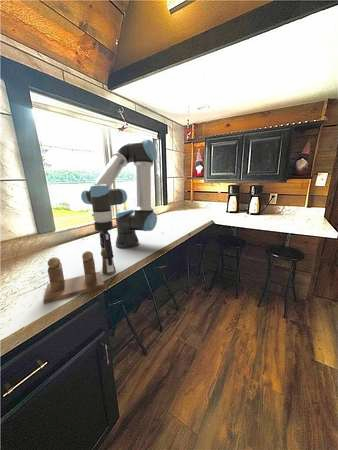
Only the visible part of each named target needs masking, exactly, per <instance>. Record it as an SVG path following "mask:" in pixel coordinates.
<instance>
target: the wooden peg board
mask: <svg viewBox="0 0 338 450" xmlns="http://www.w3.org/2000/svg"><path fill="white" fill-rule="evenodd" d="M81 258H82V265H83V266H82V267H83V273H84V274H83V275H79V276H75V277H71V278H68V279H67V278H66V279H65V276H64V271H63V265H62V262H61V259H60V258H58V257H55V256H54V257H53V256H52V257H51V258H49V259H48V261H47V266H48V267H47V275H48V278H49V279H48V280H49V283H47V284H46V288H45V293H44V297H43V304H49V303H52V302H56V301H59V300H64V299H66V298H71V297H75V296H78V295H82V294H85V293H89V292H92V291H93V292H94V291H97V290H99V289H100V290H101V289H103V288H105V283H104V280H103V276H102V272H101V271H97V270H96V263H95V259H94V254H93V252H91V251H89V250H88V251H84V252H83V253H82V255H81Z"/></svg>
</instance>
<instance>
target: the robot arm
mask: <svg viewBox="0 0 338 450" xmlns="http://www.w3.org/2000/svg"><path fill="white" fill-rule="evenodd" d="M157 157H158V154H157V148H156V146H155V144H154V142H153V141H152V140H150V139H141V140H134V141H133V140H132V141H128V142H125V143H123V144H121V145H120V146H119V147H118V148H117V149H115V151H114V152H113V154H112V155H111V159H110V161H109V162H108V163H107V164H106V167H105V168H104V169H103V171H102V172H101V173H100V175H99V176H98V177H97V179H96V180H95V181H94V183H93V184H92V185H91V186H90V188H86V189H84V190H82V192H81V194H80V197H81V200H82V202H83V203H84V204H86V205H90V206H92V214H91V217H93V221H94V230H95V231H96V232H99V241H100V243H99V245H100V248H101V251H102V250H103V249H105V253H106V257H105V259H106V265H107V273H109V272H113V271H114V266H115V265H114V266H113V262H114V254H113V253H114V251H113V247H112V241H111V234H110V233H109V231H111V230H113V228H114V227H113V221H112V220H113V213H112V206H116V205H118V206H119V205H122V204H125V203H126V202H127V200H128V194H127V192H126V191H125V190H124V189H123V188H111V186H113V184H114V182H115V180H116V179H117V177H118V176H119V174H120V172H121V171H122V170H123V169H124V168H125V167H126V166H127V165H129V163H133V165H134V166H135V167H136V168H135V169H136V170H135V171H136V172H135V173H136V207H135V208H134V209H124V210H121V211H117V212H116V213H115V223H116V231H117V235H116V240H115V246H116V247H117V248H118V249H129V248H134V247H137V246H138V245H139V244H140V243H139V241H140V240H139V237H138V235H137V233H136V231H142V232H152V231H153V230H154V229H155V228H156V226H157V221H158V216H157V213H156V212H155V211H154V208H153V207H152V182H151V181H152V179H151V178H152V177H151V174H152V172H151V170H152V169H151V168H152V167H153V165H154V162H155V161H156V160H157ZM101 251H100V252H101ZM101 260H102V261H103V257H102V256H101Z"/></svg>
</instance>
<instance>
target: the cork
mask: <svg viewBox="0 0 338 450" xmlns="http://www.w3.org/2000/svg"><path fill="white" fill-rule="evenodd" d="M100 255H101V258H102V257H103V260H102V267H101V268H102V270H101V271H102V272H101V274H102V275H108V276H109V275H112V274H114V273H116V266H115V262H114V261H113V266H114V271H113V272H109V273H107V265H106V259H105V257H106V253H105V249H103V250H102V251H100Z"/></svg>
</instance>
